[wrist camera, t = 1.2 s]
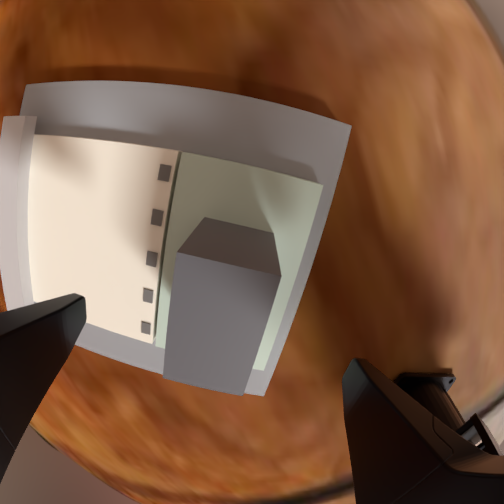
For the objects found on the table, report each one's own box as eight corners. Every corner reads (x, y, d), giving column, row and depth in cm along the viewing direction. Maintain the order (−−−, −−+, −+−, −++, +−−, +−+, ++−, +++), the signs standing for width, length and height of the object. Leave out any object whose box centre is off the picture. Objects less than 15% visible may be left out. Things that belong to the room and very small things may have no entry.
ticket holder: (342, 128, 13) (365, 122, 10) (263, 380, 18) (263, 417, 15) (40, 87, 12) (6, 81, 9) (32, 311, 17) (8, 332, 14)
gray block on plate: (319, 183, 12) (359, 204, 7) (263, 361, 16) (264, 436, 11) (186, 152, 12) (140, 153, 7) (159, 337, 15) (127, 405, 10)
